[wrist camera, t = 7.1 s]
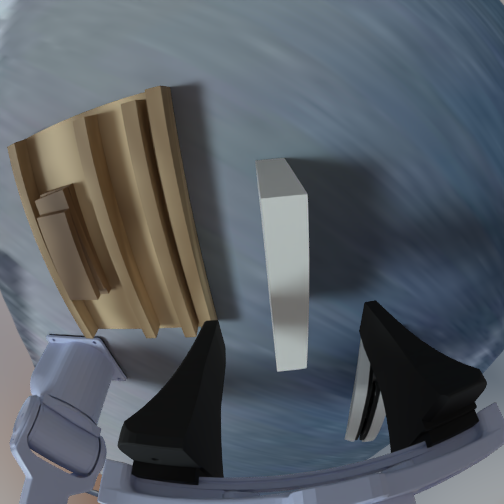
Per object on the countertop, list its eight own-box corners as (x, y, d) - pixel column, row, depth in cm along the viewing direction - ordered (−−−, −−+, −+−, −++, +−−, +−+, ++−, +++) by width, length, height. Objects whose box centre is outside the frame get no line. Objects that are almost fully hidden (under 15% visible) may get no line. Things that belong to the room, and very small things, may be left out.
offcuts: (82, 290, 23) (73, 304, 21) (43, 192, 18) (29, 202, 16) (114, 288, 23) (105, 303, 21) (76, 182, 18) (61, 191, 16)
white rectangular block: (269, 297, 25) (277, 371, 18) (255, 160, 19) (260, 198, 12) (292, 295, 25) (306, 368, 18) (284, 157, 19) (307, 194, 12)
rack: (93, 323, 26) (85, 340, 24) (24, 140, 16) (5, 147, 14) (217, 319, 26) (215, 339, 24) (170, 87, 16) (158, 85, 14)
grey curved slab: (381, 395, 35) (375, 454, 28) (352, 394, 37) (341, 452, 29) (402, 321, 27) (405, 401, 19) (362, 321, 29) (354, 400, 21)
